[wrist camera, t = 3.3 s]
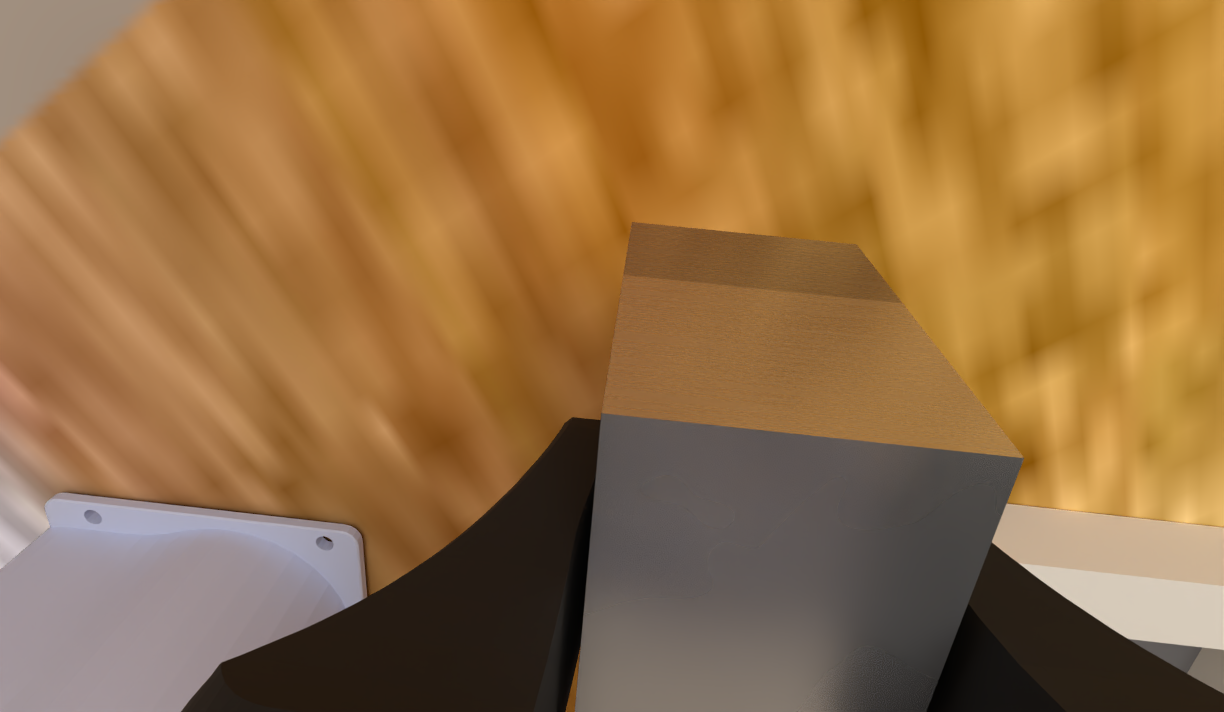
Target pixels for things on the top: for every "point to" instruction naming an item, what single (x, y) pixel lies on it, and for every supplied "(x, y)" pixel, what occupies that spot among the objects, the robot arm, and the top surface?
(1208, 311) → the top surface
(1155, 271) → the top surface
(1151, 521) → the light grey flat piece
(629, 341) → the tall grey block
